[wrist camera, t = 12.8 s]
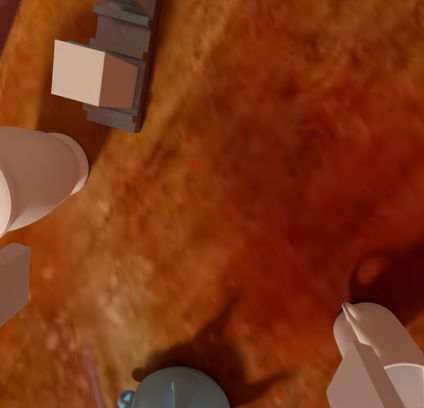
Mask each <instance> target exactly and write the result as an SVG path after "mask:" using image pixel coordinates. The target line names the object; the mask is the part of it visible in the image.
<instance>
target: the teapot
mask: <svg viewBox="0 0 424 408" xmlns="http://www.w3.org/2000/svg"><path fill="white" fill-rule="evenodd" d="M125 399H128V400H129V402H125V401H123V400H125ZM118 405H119V407H120V408H230V405H229V402H228V399H227V397H226V395H225V393H224V392H223V390H222V389H221V388H220V387H219V385H218V384H217V383H216V382H215V381H214V380H213V379H212V378H210V377H209V376H208V375H206V374H205V373H203V372H201V371H199V370H197V369H194V368H190V367H185V366H172V367H167V368H163V369H161V370H158V371H156V372H154V373H152V374H150V375H148V376H147V377H146V378H145V379H144V380H143V381H142V382H141V383H140V384H139V386H138V387H137V389H136V391H135V393H134V392H133V391H132V390H126V391H123V392H122V393H121V394H120V396H119V398H118Z"/></svg>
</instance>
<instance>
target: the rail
mask: <svg viewBox="0 0 424 408" xmlns="http://www.w3.org/2000/svg"><path fill="white" fill-rule="evenodd" d="M161 6H162V0H100V3H99V5H98V4H95V3H93V13H95V14H96V15H98V21H97V30H96V39H95V38H91V37H90V40H89V46H93V47H97V48H100V49H104V50H107V51H109V52H111V53H113V54H115V55H118V56H120V57H122V58H124V59H126V60H128V62H127V63H129V64H131V65H134V66H136V67H138V71H137V77H136V84H135V90H134V97H133V103H132V109H131V108H116V107H101V106H95V105H92V104H88V103H83V107H82V110H85V111H87V120H88V121H91V122H95V123H99V124H102V125H106V126H110V127H113V128H117V129H121V130H124V131H128V132H132V133H138V132H140V129H141V123H142V117H143V112H144V106H145V100H146V94H147V88H148V82H149V76H150V70H151V65H152V59H153V53H154V47H155V41H156V35H157V29H158V23H159V18H160V12H161Z"/></svg>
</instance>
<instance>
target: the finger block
mask: <svg viewBox="0 0 424 408" xmlns="http://www.w3.org/2000/svg"><path fill="white" fill-rule="evenodd" d="M127 62H128V60H126V59H124V58H122V57H120V56H118V55H115V54H113V53H111V52H109V51H107V50H104V49H100V48H97V47H93V46H89V45H85V44H81V43H78V42H74V41H70V40H67V42H63V41H59V40H56V39H55V48H54V63H53V77H52V91H51V94H55V95H58V96H62V97H66V98H69V99H73V100H77V101H81V102H84V103H88V104H92V105H95V106H101V107H116V108H131V109H132V103H133V97H134V90H135V84H136V77H137V71H138V67H136V66H134V65H131V64H129V63H127Z"/></svg>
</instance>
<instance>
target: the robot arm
mask: <svg viewBox="0 0 424 408" xmlns="http://www.w3.org/2000/svg"><path fill="white" fill-rule="evenodd" d="M30 257H31V247H27V246H24V245H20V244H17V243H11V244H9V245H7V246H6V247H4V248H2V249H0V327H1V326H2V325H4V324H5V323H6V322H7V321H8V320H9V319H11V318H12V317H13V316H14V315H15V314H16V313H18V312H19V311H20V310H21V309H22V308H23V307H24V306H26V305H27V304H28V290H29V274H30ZM326 393H327V397H328V400H329V404H330V407H331V408H406V407H405V406H404V404H403V402H402V400H401V398H400V396H399V395H398V393H397V391H396V389H395V387H394V386H393V384H392V382H391V380H390V378H389V376H388V375H387V373H386V371H385V369H384V367H383V366H382V364H381V362H380V360H379V358H378V356H377V355H376V353H375V351H374V349H373V347H372V346H370V345H366V344H363V343H359V342H356V341H352V342H351V344H350V346H349V348H348V350H347V352H346V354H345V356H344V358H343V360H342V362H341V364H340V366H339V368H338V370H337V372H336V373H335V375H334V377H333V379H332V381H331V383H330V385H329V387H328V389H327V391H326Z"/></svg>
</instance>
